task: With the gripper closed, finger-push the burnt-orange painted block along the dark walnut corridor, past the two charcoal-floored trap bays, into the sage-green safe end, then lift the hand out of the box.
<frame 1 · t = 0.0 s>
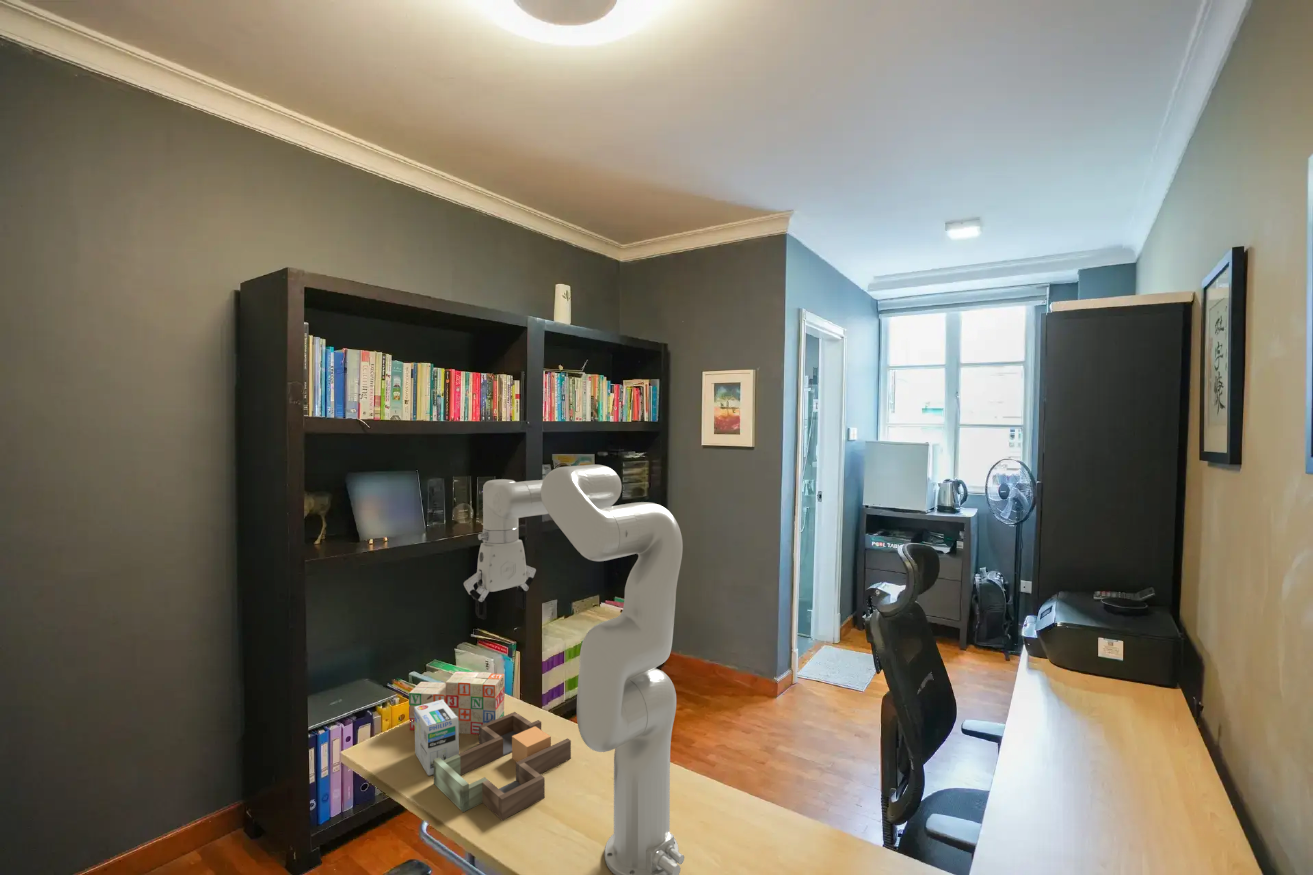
hand: (501, 612, 133), 31 cm above the table, fingers open, 9 cm apart
block: (531, 758, 131), on the table
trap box: (507, 769, 127), on the table
stack of blocks: (457, 727, 144), on the table
light bulb box: (436, 760, 130), on the table
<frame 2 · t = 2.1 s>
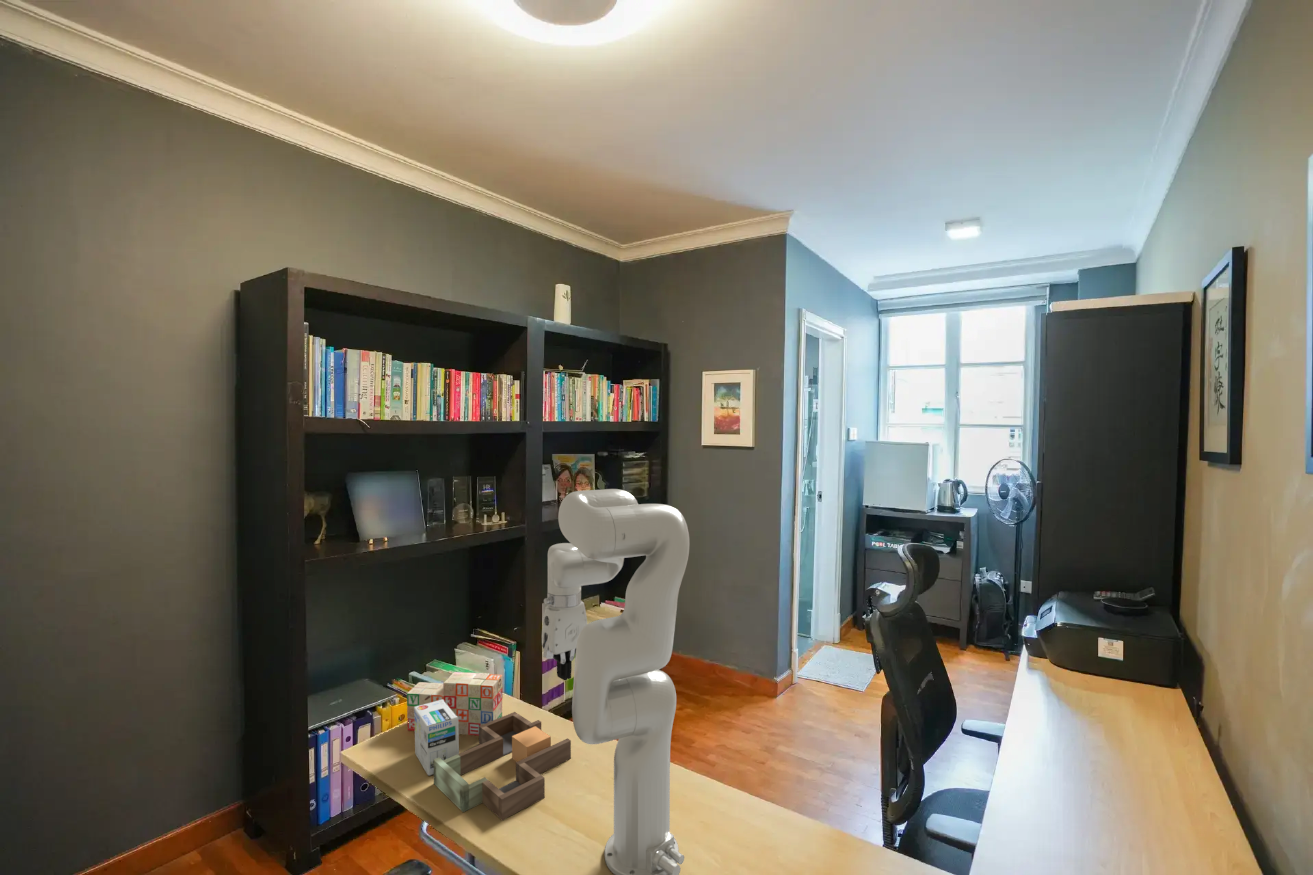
hand: (564, 677, 137), 15 cm above the table, fingers closed
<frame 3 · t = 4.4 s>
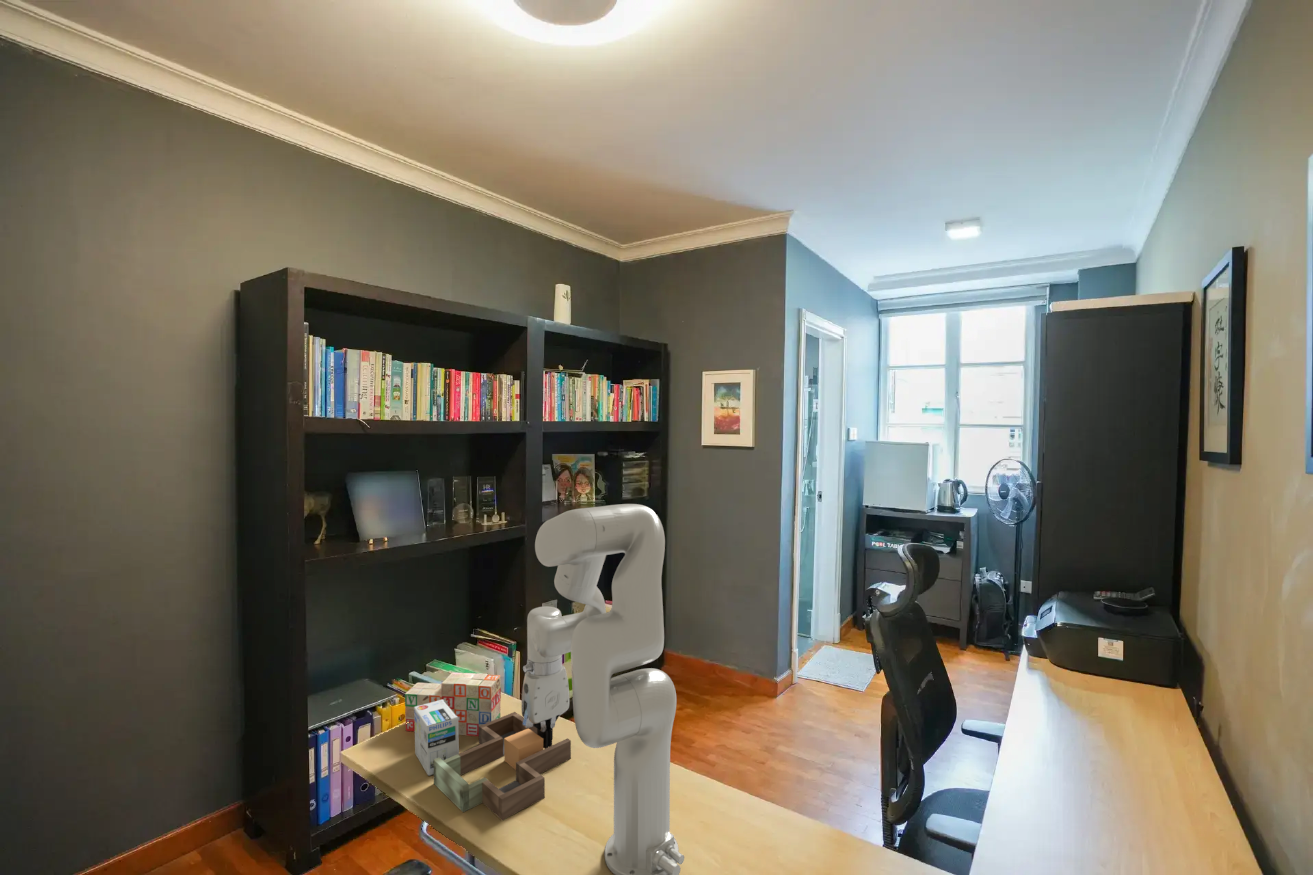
hand: (545, 745, 134), 1 cm above the table, fingers closed
block: (523, 760, 130), on the table, touching gripper
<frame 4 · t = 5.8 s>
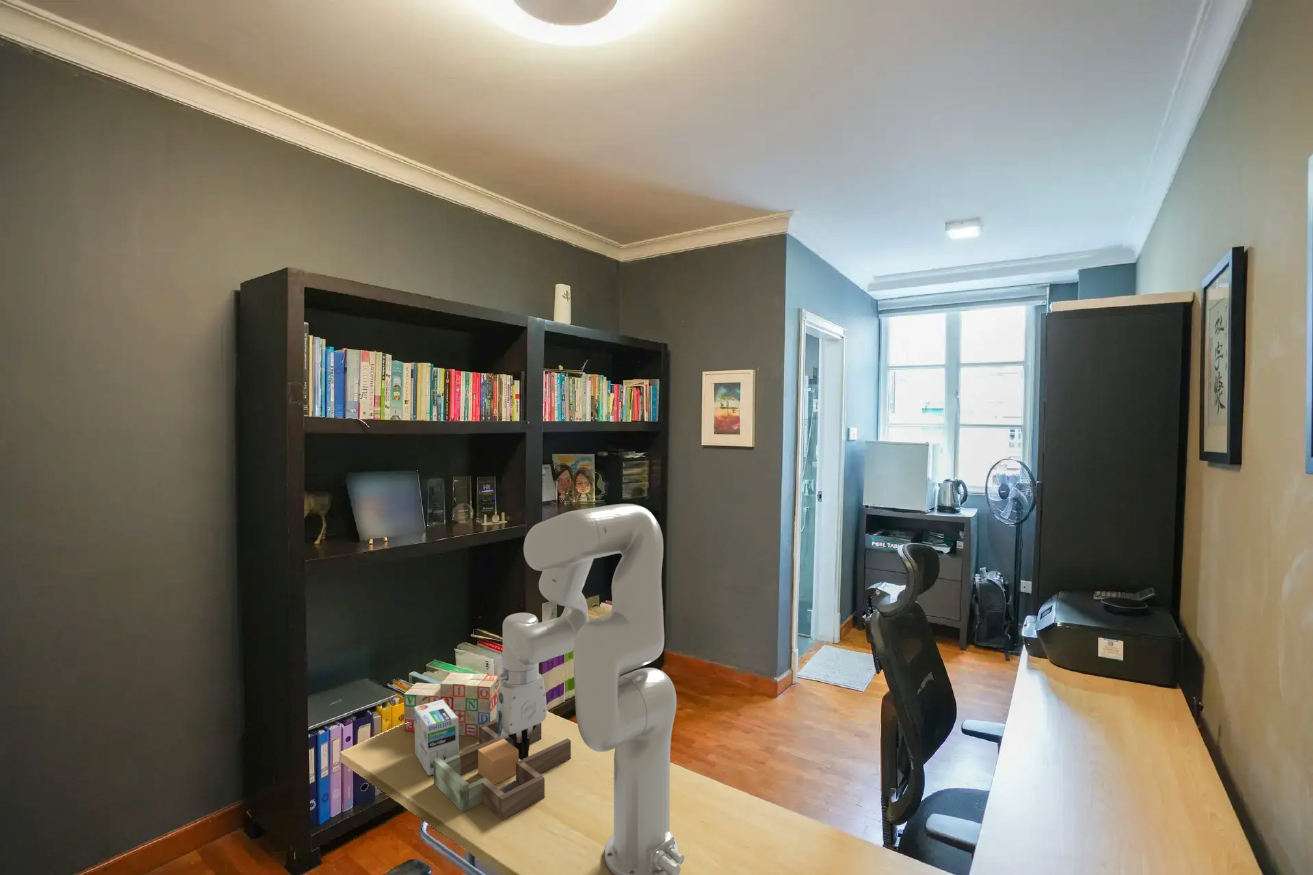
hand: (521, 756, 129), 1 cm above the table, fingers closed
block: (498, 772, 125), on the table, touching gripper
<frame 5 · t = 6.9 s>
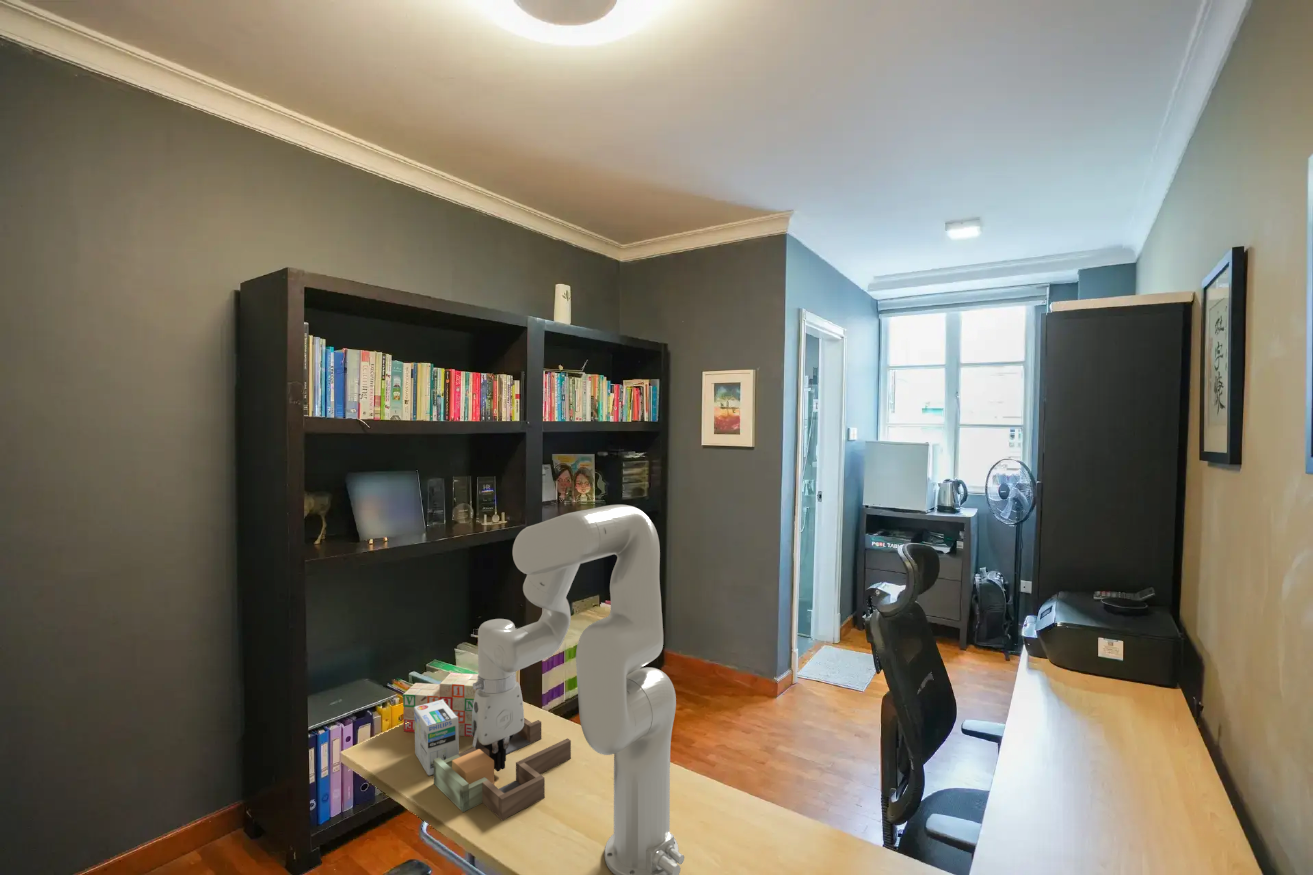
hand: (497, 767, 125), 1 cm above the table, fingers closed
block: (473, 784, 121), on the table, touching gripper
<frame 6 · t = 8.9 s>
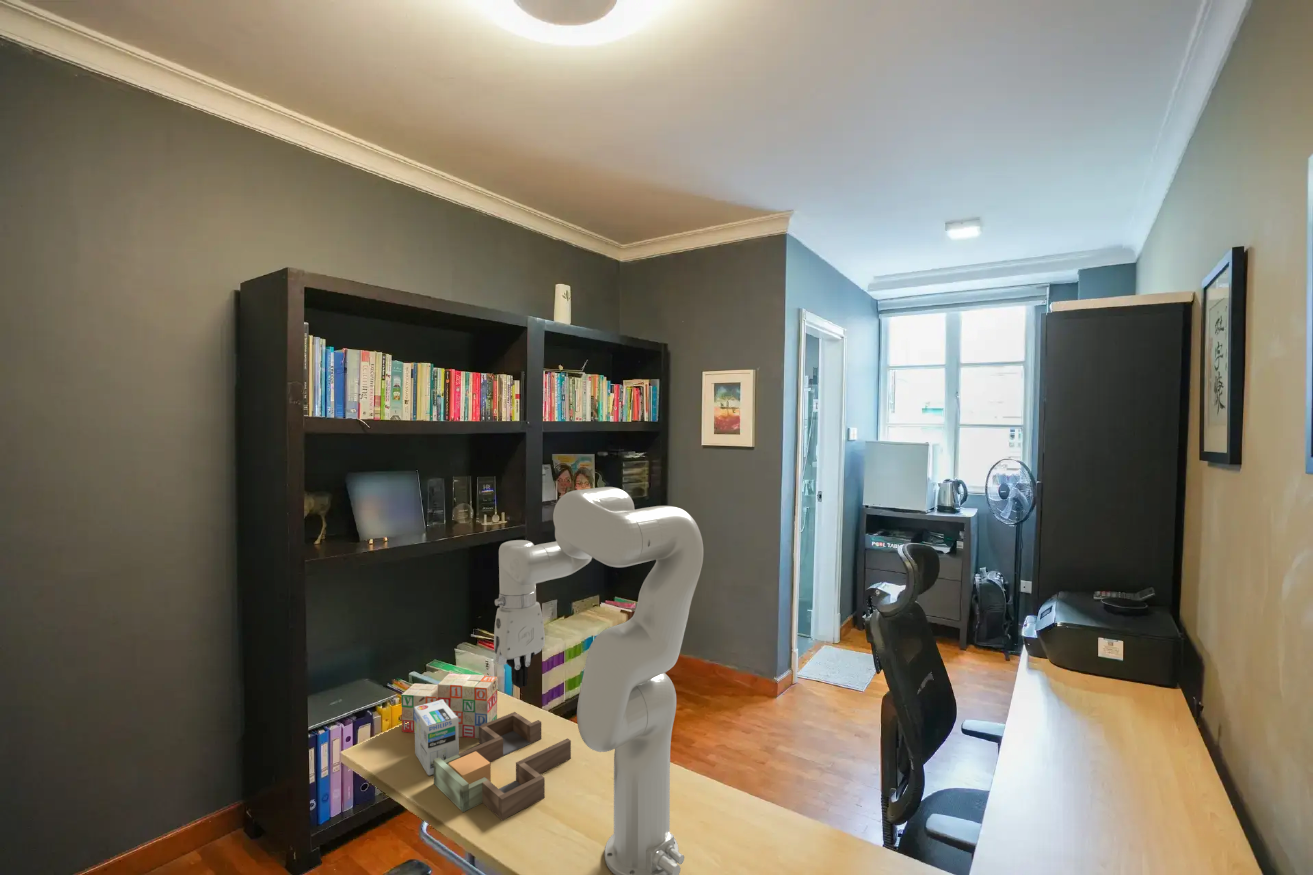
hand: (519, 684, 128), 17 cm above the table, fingers closed
block: (469, 787, 121), on the table
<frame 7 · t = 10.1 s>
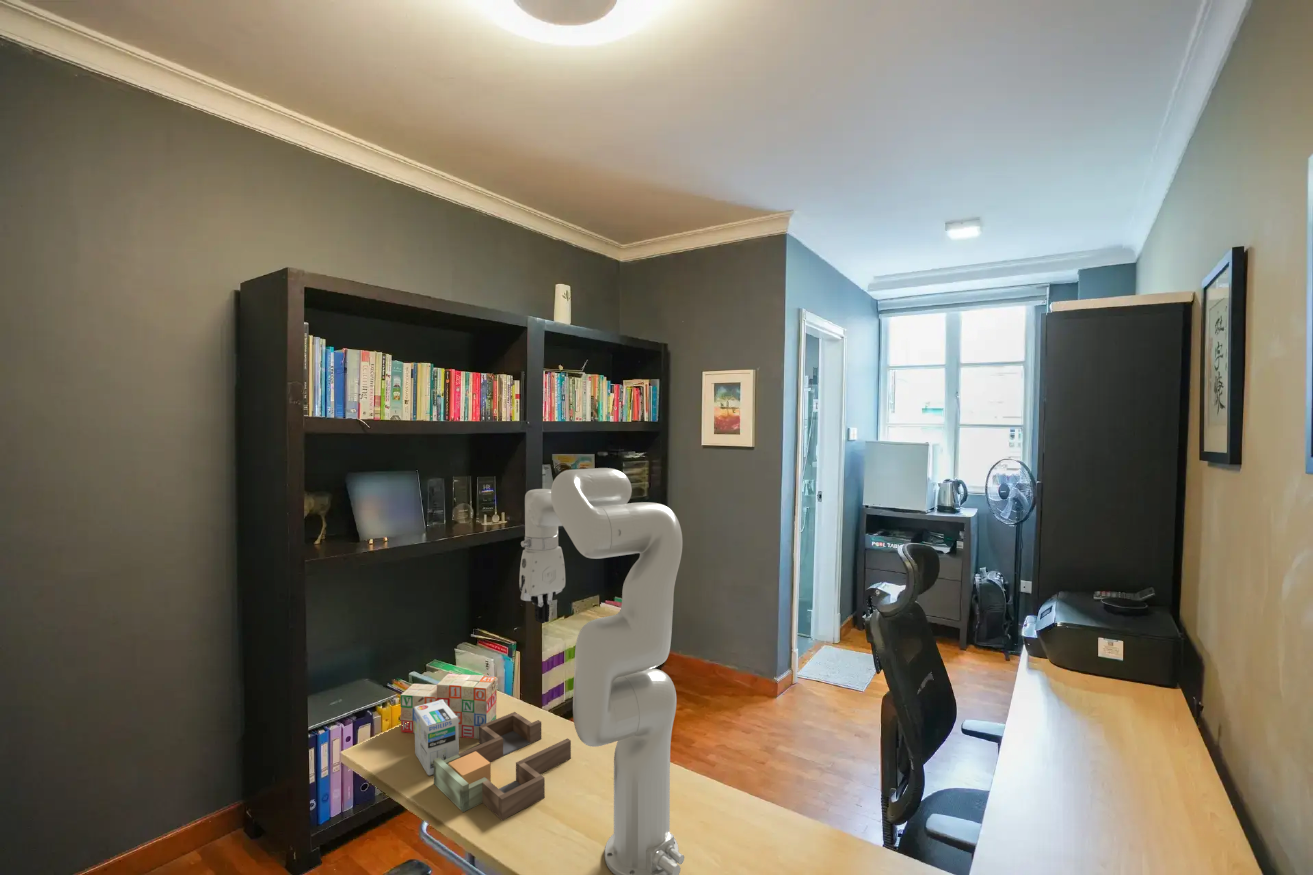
hand: (542, 621, 139), 27 cm above the table, fingers closed
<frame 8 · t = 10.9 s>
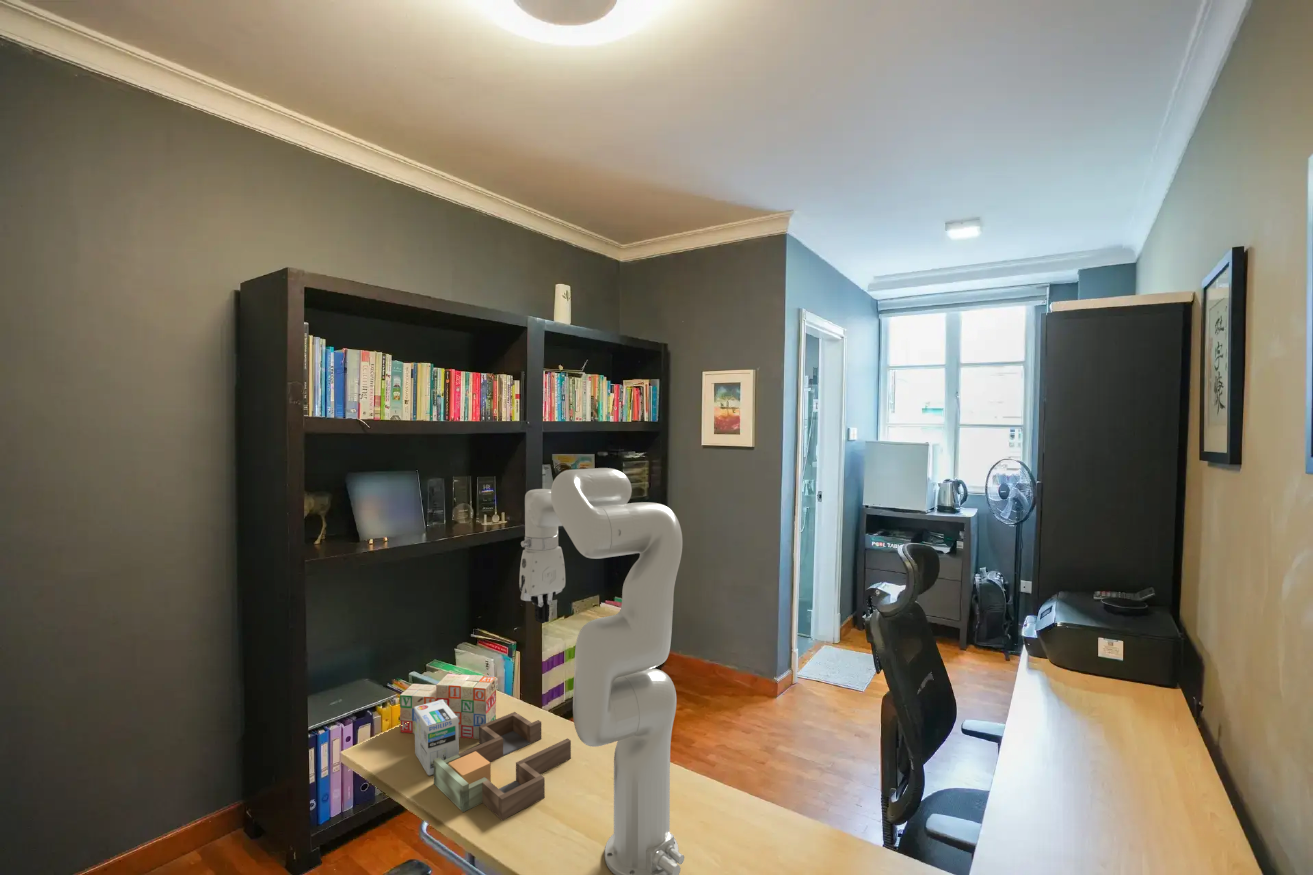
hand: (542, 621, 139), 27 cm above the table, fingers closed
at the end: block inside the target area (0.7 cm from its centre), on the table; block tilted 0°; block moved 14.5 cm from its start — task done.
